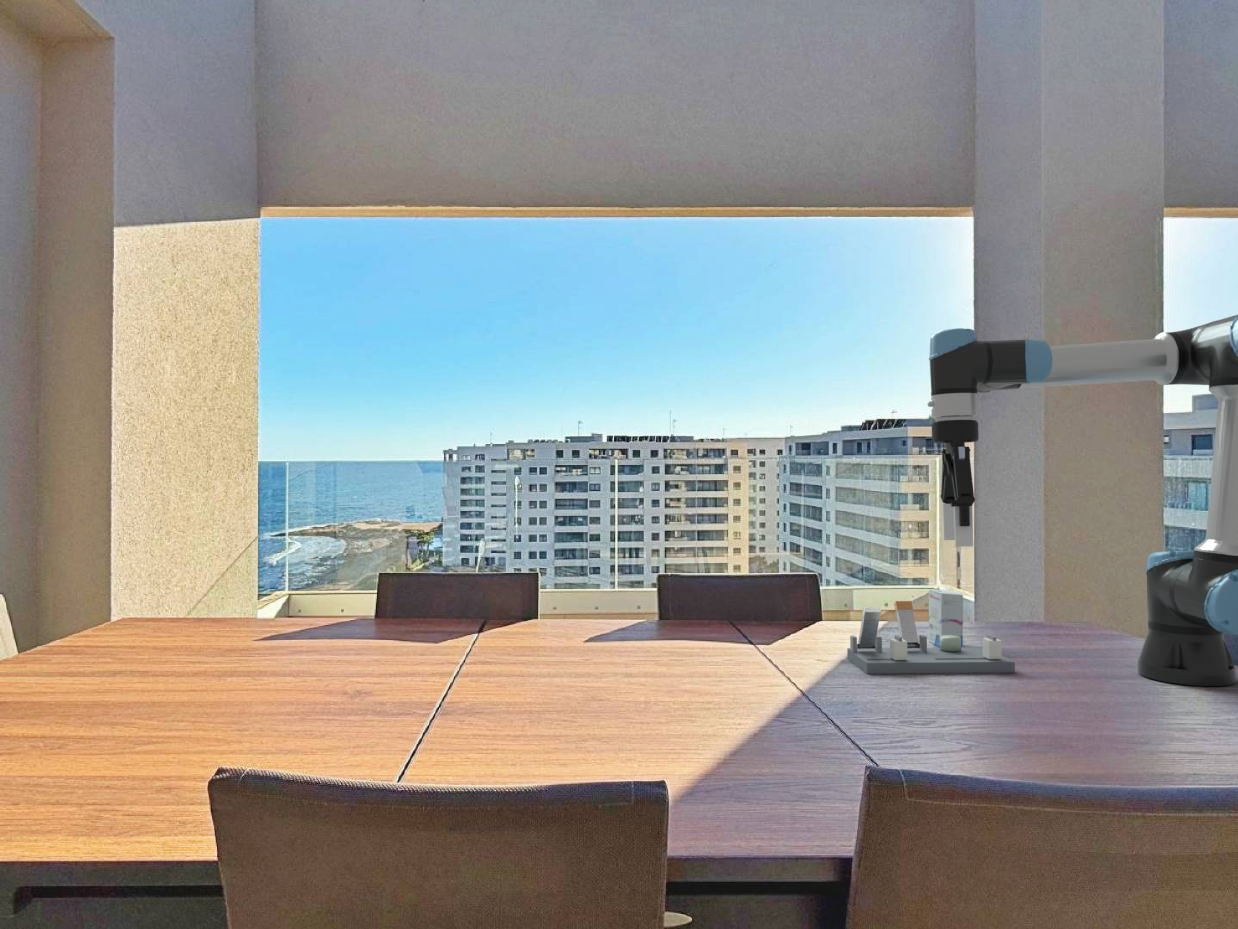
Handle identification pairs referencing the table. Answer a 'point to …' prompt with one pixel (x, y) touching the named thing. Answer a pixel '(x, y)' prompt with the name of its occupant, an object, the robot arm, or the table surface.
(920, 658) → the panel
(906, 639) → the toggle
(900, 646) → the slider
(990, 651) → the slider
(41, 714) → the table surface
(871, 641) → the toggle
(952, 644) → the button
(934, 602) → the ink box
